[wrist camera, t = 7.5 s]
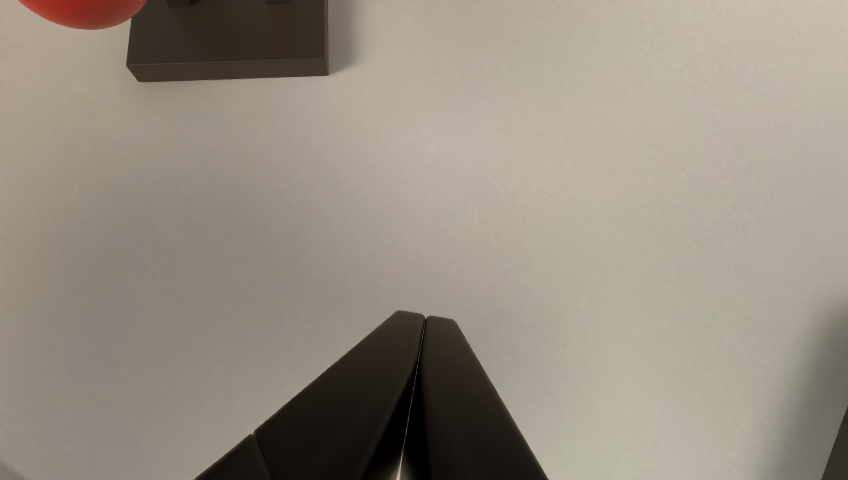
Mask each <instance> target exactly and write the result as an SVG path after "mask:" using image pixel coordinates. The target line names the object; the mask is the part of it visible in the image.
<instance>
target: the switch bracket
mask: <svg viewBox="0 0 848 480" xmlns="http://www.w3.org/2000/svg"><path fill="white" fill-rule="evenodd" d="M126 66H127V67H128V69H129V70H130V71H131V73H132V74H133V75H134V77H135V78H136V79H137V80H138V82H154V81H183V80H212V79H241V78H269V77H298V76H327V75H328V0H148V1H147V2H146V4H145V5H144V6H143V7H142V8H141V10H140V11H139V12H138V13H137V14H135V15H134V16H133V17H132V19H131V28H130V36H129V45H128V54H127V62H126Z"/></svg>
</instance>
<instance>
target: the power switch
mask: <svg viewBox="0 0 848 480" xmlns="http://www.w3.org/2000/svg"><path fill="white" fill-rule="evenodd" d="M19 1H20V2H21V3H22V4H23V5H24V6H26V7H27V8H28V9H30V10H31V11H33V12H34V13H36V14H38V15H39V16H41V17H43V18H45V19H47V20H49V21H52V22H54V23H57V24H59V25H63V26H66V27H71V28H76V29H86V30H96V29H104V28H109V27H113V26H116V25H118V24H121V23H123V22H125V21H127V20H128V19H130V18H131V17H133V16H134V15H135V14H137V13H138V12H139V11H140V10H141V8H142V7H143V6H144V5H145V4H146V2H147V1H148V0H19Z"/></svg>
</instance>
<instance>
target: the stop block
mask: <svg viewBox="0 0 848 480" xmlns="http://www.w3.org/2000/svg"><path fill="white" fill-rule="evenodd" d="M821 480H848V407H847V410H846V413H845V415H844V418H843V421H842V424H841V427H840V429H839V432H838V435H837V438H836V441H835V443H834V446H833V449H832V452H831V454H830V457H829V460H828V463H827V466H826V468H825V471H824V474H823V477H822V479H821Z"/></svg>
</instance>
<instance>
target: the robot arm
mask: <svg viewBox="0 0 848 480" xmlns="http://www.w3.org/2000/svg"><path fill="white" fill-rule="evenodd" d="M424 324H425V326H424ZM423 330H424V332H423ZM422 336H423V338H422ZM421 342H422V344H421ZM420 347H421V349H420ZM419 353H420V355H419ZM418 359H419V361H418ZM417 365H418V367H417ZM416 371H417V373H416ZM415 377H416V379H415ZM414 382H415V385H414ZM413 388H414V390H413ZM412 394H413V396H412ZM411 400H412V402H411ZM410 406H411V408H410ZM409 412H410V414H409ZM408 417H409V420H408ZM407 423H408V425H407ZM406 429H407V431H406ZM405 435H406V437H405ZM404 441H405V443H404ZM403 446H404V449H403ZM402 452H403V455H402ZM401 457H402V463H401V471H400V480H549V479H548V478H547V476H546V474H545V473H544V471H543V469H542V468H541V466H540V464H539V462H538V461H537V459H536V457H535V456H534V454H533V452H532V451H531V449H530V447H529V445H528V444H527V442H526V440H525V439H524V437H523V435H522V434H521V432H520V430H519V428H518V427H517V425H516V423H515V422H514V420H513V418H512V417H511V415H510V413H509V411H508V410H507V408H506V406H505V405H504V403H503V401H502V400H501V398H500V396H499V394H498V393H497V391H496V389H495V388H494V386H493V384H492V382H491V381H490V379H489V377H488V376H487V374H486V372H485V371H484V369H483V367H482V365H481V364H480V362H479V360H478V359H477V357H476V355H475V354H474V352H473V350H472V348H471V347H470V345H469V343H468V342H467V340H466V338H465V337H464V335H463V333H462V331H461V330H460V328H459V326H458V325H457V323H456V322H455V321H454V320H453V319H449V318H443V317H437V316H428V317H427V318H426V320H425V316H424V315H423V314H420V313H414V312H408V311H403V310H398V311H396V312H395V313H394V314H392V315H391V316H390V317H389V318H388V319H387V320H385V321H384V322H383V323H382V324H381V325H379V326H378V327H377V328H376V329H375V330H373V331H372V332H371V333H370V334H369V335H367V336H366V337H365V338H364V339H363V340H362V341H360V342H359V343H358V344H357V345H356V346H354V347H353V348H352V349H351V350H350V351H348V352H347V353H346V354H345V355H344V356H342V357H341V358H340V359H339V360H338V361H337V362H335V363H334V364H333V365H332V366H331V367H329V368H328V369H327V370H326V371H325V372H323V373H322V374H321V375H320V376H319V377H318V378H316V379H315V380H314V381H313V382H312V383H310V384H309V385H308V386H307V387H306V388H304V389H303V390H302V391H301V392H300V393H298V394H297V395H296V396H295V397H294V398H293V399H291V400H290V401H289V402H288V403H287V404H285V405H284V406H283V407H282V408H281V409H279V410H278V411H277V412H276V413H275V414H273V415H272V416H271V417H270V418H269V419H268V420H266V421H265V422H264V423H263V424H262V425H260V426H259V427H258V428H257V429H256V430H255V431H254V433H253V434H250V435H248V436H247V437H246V438H244V439H243V440H242V441H241V442H240V443H239V444H237V445H236V446H235V447H234V448H233V449H231V450H230V451H229V452H228V453H227V454H225V455H224V456H223V457H221V458H220V459H219V460H218V461H216V462H215V463H214V464H213V465H211V466H210V467H209V468H208V469H206V470H205V471H204V472H203V473H201V474H200V475H199V476H197V477H196V478H195V479H194V480H396V478H397V474H398V471H399V467H400V462H401Z"/></svg>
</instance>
